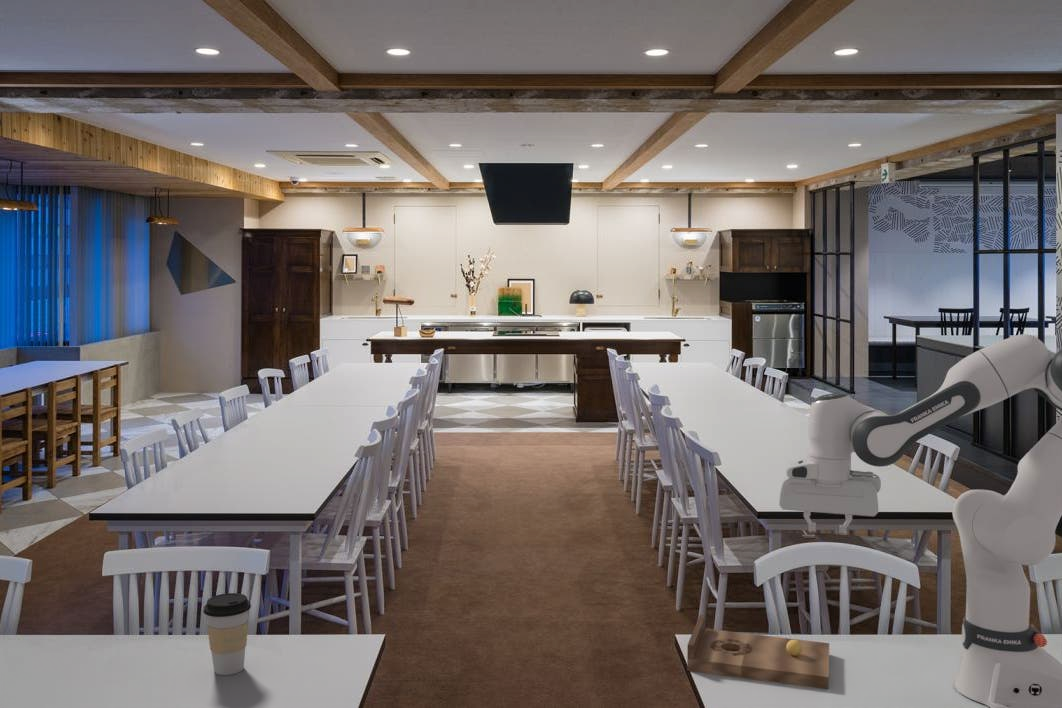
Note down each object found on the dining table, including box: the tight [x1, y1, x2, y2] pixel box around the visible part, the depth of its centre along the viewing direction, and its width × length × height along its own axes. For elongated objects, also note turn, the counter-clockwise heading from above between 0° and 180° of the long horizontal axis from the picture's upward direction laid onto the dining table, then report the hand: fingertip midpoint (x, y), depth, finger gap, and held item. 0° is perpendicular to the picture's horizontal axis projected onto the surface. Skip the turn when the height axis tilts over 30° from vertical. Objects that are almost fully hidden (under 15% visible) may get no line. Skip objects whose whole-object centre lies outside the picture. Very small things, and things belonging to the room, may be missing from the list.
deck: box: [686, 614, 830, 690], centre depth 193 cm, size 28×18×6 cm, turn 71°
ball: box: [786, 639, 802, 656], centre depth 190 cm, size 3×3×3 cm
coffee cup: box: [202, 592, 252, 676], centre depth 189 cm, size 9×9×15 cm
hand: (827, 532), depth 194 cm, fingers open, 5 cm apart
